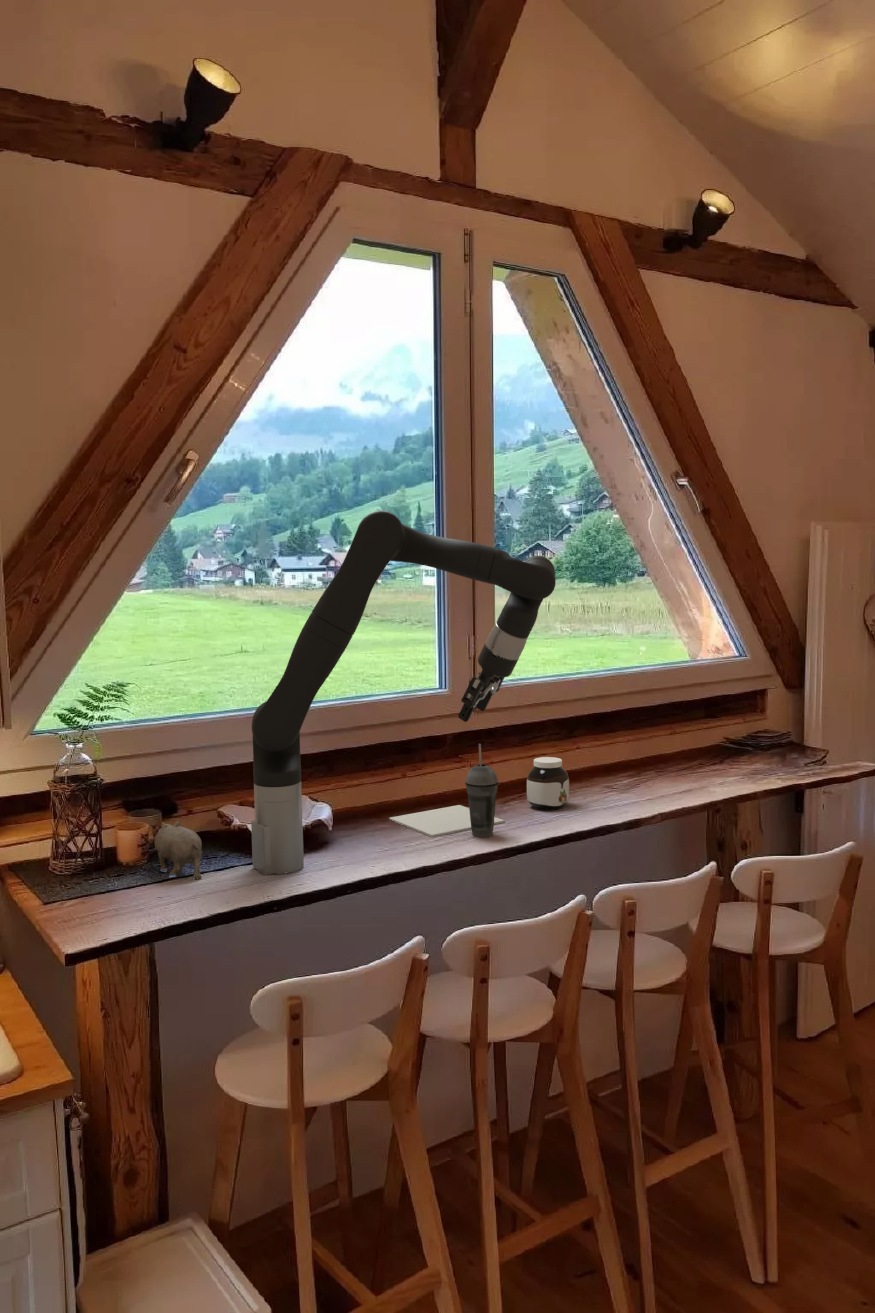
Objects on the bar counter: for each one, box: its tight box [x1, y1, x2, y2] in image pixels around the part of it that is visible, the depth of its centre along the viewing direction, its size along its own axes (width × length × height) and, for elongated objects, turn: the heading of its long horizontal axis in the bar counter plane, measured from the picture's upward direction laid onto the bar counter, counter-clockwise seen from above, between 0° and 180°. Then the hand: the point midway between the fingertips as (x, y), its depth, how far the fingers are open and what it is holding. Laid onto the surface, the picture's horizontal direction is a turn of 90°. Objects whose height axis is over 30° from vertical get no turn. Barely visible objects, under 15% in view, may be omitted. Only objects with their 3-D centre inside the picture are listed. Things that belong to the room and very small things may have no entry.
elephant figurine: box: [153, 821, 203, 879], centre depth 197 cm, size 8×14×15 cm
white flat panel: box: [388, 804, 506, 838], centre depth 232 cm, size 20×18×1 cm
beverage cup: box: [464, 743, 499, 838], centre depth 219 cm, size 7×7×20 cm
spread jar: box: [526, 756, 570, 811], centre depth 245 cm, size 12×11×12 cm
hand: (471, 714), depth 209 cm, fingers open, 8 cm apart
